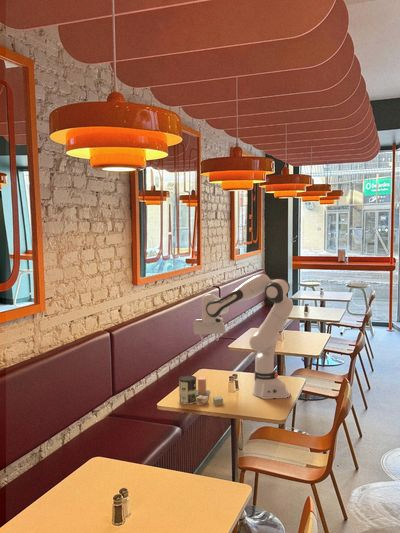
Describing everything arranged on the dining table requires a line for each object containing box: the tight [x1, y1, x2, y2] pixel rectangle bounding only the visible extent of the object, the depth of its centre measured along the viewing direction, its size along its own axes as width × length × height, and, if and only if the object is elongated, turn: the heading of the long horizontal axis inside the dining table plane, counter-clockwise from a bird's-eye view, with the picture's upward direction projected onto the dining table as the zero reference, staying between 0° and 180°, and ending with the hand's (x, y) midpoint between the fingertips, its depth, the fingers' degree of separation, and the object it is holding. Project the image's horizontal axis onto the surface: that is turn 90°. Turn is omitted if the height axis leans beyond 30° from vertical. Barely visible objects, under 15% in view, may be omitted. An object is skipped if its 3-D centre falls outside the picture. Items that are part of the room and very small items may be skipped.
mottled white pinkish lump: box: [196, 395, 209, 406], centre depth 286 cm, size 5×5×4 cm
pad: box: [196, 389, 211, 398], centre depth 302 cm, size 9×9×1 cm
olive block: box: [212, 395, 224, 406], centre depth 286 cm, size 5×5×4 cm
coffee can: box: [178, 374, 197, 405], centre depth 290 cm, size 10×10×14 cm
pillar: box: [197, 376, 207, 394], centre depth 302 cm, size 4×4×9 cm
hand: (209, 340), depth 314 cm, fingers open, 8 cm apart
